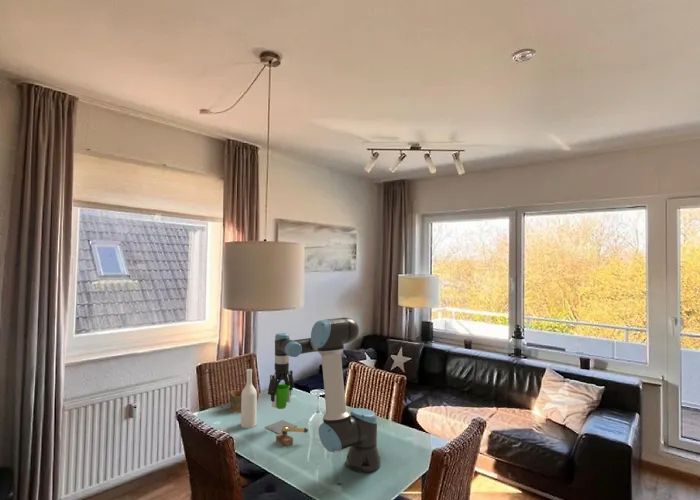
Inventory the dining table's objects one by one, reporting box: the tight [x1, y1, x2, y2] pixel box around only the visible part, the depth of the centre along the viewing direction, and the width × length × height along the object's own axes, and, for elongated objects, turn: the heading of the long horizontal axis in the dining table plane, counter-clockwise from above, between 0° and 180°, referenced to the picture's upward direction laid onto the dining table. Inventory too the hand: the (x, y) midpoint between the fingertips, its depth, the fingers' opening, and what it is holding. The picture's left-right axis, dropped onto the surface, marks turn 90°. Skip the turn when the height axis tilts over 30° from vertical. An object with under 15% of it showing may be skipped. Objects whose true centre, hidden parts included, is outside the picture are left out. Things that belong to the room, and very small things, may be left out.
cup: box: [275, 383, 290, 410], centre depth 209 cm, size 9×9×11 cm
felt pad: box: [264, 419, 298, 435], centre depth 209 cm, size 12×12×1 cm
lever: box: [282, 426, 309, 433], centre depth 192 cm, size 13×3×2 cm, turn 85°
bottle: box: [240, 368, 258, 429], centre depth 211 cm, size 8×8×30 cm
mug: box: [228, 388, 260, 413], centre depth 233 cm, size 12×18×12 cm, turn 89°
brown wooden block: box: [275, 432, 294, 448], centre depth 191 cm, size 8×4×5 cm, turn 49°
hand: (281, 404), depth 209 cm, fingers closed on cup, 9 cm apart
